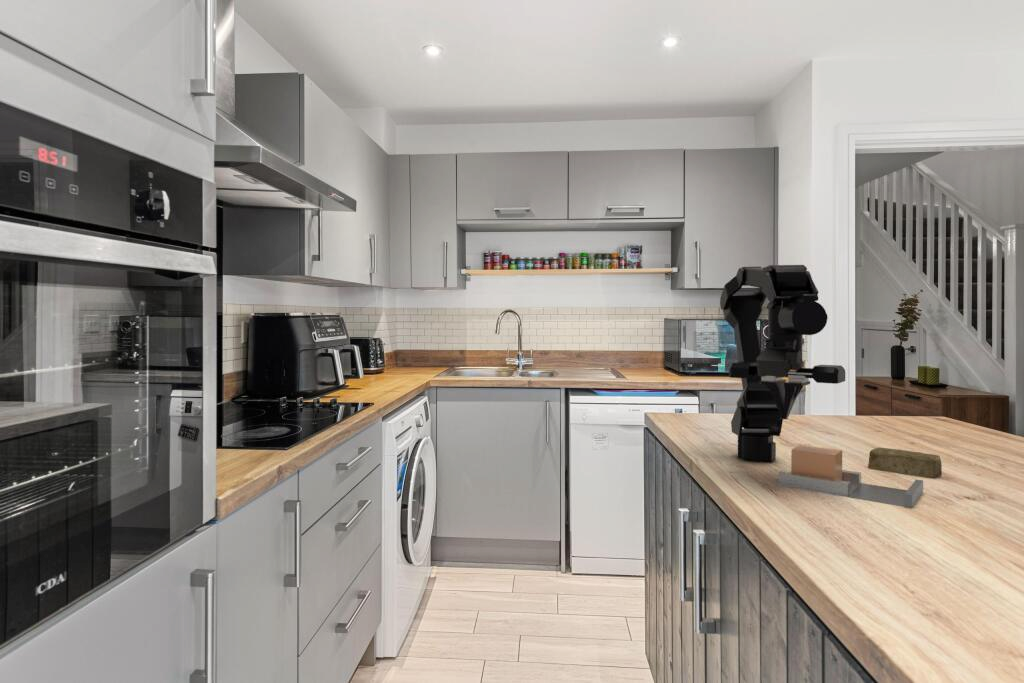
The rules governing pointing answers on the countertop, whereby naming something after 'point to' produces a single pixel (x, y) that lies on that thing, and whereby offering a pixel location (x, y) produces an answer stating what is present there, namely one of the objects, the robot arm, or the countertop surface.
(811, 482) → the chute
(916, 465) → the stone block
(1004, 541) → the countertop surface
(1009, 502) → the countertop surface
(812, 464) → the block
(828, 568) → the countertop surface
